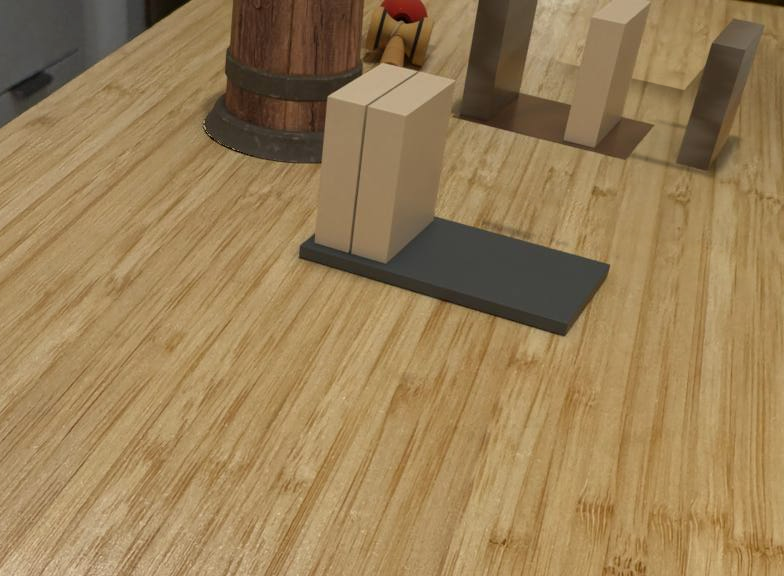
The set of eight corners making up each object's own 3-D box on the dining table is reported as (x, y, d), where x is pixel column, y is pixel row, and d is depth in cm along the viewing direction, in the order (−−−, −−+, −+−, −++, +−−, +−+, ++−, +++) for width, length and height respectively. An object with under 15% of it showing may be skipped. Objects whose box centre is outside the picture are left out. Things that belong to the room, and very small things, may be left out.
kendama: (428, 108, 122) (439, 35, 133) (426, 47, 117) (437, -23, 128) (357, 112, 123) (373, 40, 134) (351, 52, 118) (369, -18, 130)
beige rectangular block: (620, 119, 117) (651, 1, 110) (594, 148, 110) (625, 23, 103) (590, 112, 118) (619, -6, 111) (563, 140, 111) (591, 16, 104)
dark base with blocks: (607, 275, 92) (650, 121, 84) (564, 336, 84) (607, 171, 76) (360, 207, 98) (378, 57, 90) (298, 257, 90) (311, 97, 82)
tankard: (352, 175, 103) (380, -81, 89) (176, 142, 105) (178, -113, 92) (406, 98, 120) (436, -128, 106) (253, 70, 122) (264, -153, 109)
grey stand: (729, 153, 115) (772, 23, 107) (705, 190, 107) (749, 53, 99) (489, 95, 123) (512, -31, 114) (449, 126, 114) (471, -7, 106)
